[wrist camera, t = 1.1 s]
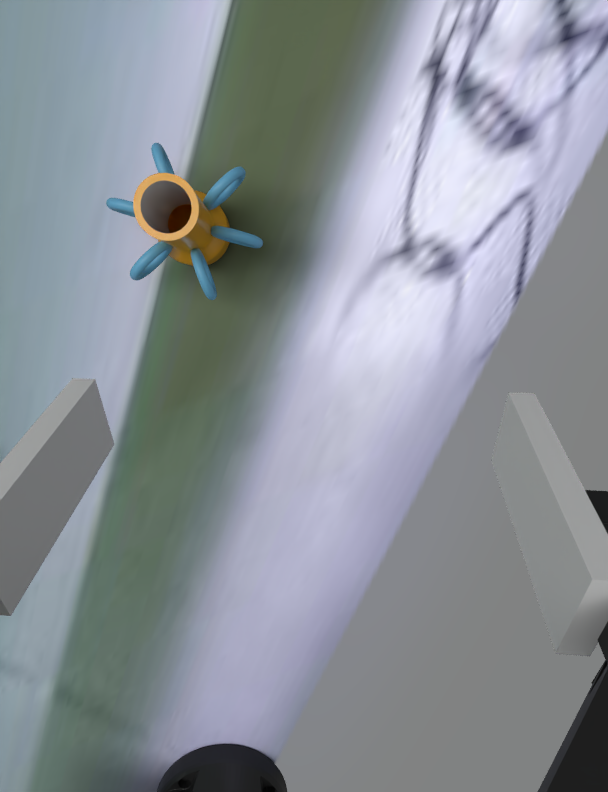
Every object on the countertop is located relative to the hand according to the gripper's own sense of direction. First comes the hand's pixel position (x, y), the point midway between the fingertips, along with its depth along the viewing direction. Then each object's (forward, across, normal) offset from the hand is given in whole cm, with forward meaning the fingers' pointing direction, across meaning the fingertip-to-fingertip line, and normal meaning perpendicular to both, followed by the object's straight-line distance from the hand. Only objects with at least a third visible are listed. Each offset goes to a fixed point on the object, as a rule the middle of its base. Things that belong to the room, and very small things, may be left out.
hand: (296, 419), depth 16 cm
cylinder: (+32, +12, +4) cm, 35 cm away
